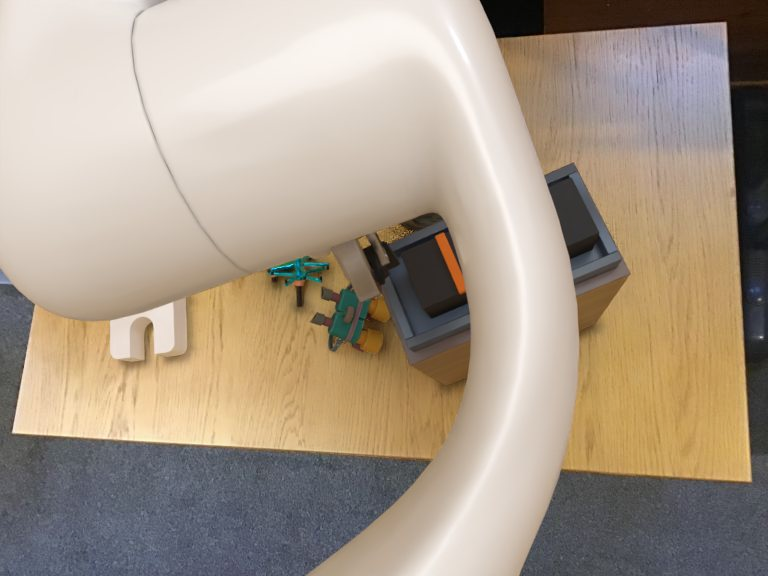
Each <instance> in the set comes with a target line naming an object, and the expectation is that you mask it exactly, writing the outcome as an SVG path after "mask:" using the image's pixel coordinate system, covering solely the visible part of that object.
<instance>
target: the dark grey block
mask: <svg viewBox="0 0 768 576" xmlns="http://www.w3.org/2000/svg"><path fill="white" fill-rule="evenodd" d="M548 189H549V192H550V195H551V197H552V200H553V203H554V206H555V209H556V212H557V215H558V218H559V222H560V226H561V230H562V233H563V237H564V240H565V244H566V247H567V251H568V254H569V258H570V259H572V258H574V257H577V256H579V255H581V254H584V253H586V252H588V251H591V250H593V248H594V245H595V243H596V240H597V238H598V235H599V230H598V228H597V226H596V224H595V222H594V220H593V218H592V216H591V214H590V212H589V210H588V208H587V206H586V205H585V203H584V201H583V199H582V197H581V195H580V193H579V191H578V189H577V187H576V185H575V183H574V181H573V179H572V178H569V179H566V180H564V181H562V182H560V183H557V184H555V185H553V186H550V187H548Z"/></svg>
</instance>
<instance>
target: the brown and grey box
mask: <svg viewBox="0 0 768 576" xmlns="http://www.w3.org/2000/svg"><path fill="white" fill-rule="evenodd" d="M544 177H545V180H546V183H547V186H548V187H550V186H553V185H555V184H557V183H560V182H562V181H564V180H566V179H569V178H572V179H573V181H574V183H575V185H576V187H577V189H578V191H579V193H580V195H581V197H582V199H583V201H584V203H585V205H586V206H587V208H588V210H589V212H590V214H591V216H592V218H593V220H594V222H595V224H596V226H597V228H598V230H599V235H598V238H597V240H596V243H595V245H594V248H593V250H591V251H588V252H586V253H584V254H581V255H579V256H577V257H574V258H572V259H570V264H571V270H572V276H573V282H574V288H575V294H576V300H577V309H578V329H579V332H581V331H583V330H586V329H588V328H591V327H594V326H596V324H597V322H598V321H599V319H601V317H602V316H603V314H604V313H605V311H606V310H607V308H608V307H609V305H610V304H611V302H612V301H613V300H614V298H616V296H617V294H618V293H619V291H620V290H621V288H622V287H623V286H624V284H625V283H626V281H627V280H628V279H629V277H630V276H631V271H630V269H629V267H628V265H627V263H626V260H625V259H624V258H623V255H622V253H621V252H620V249H619V248H618V245H617V244H616V242H615V240H614V238H613V236H612V234H611V232H610V230H609V228H608V226H607V225H606V222H605V220H604V218H603V217H602V214H601V212H600V211H599V209H598V206H597V204H596V203H595V201H594V198H593V197H592V195H591V193H590V191H589V189H588V186H587V185H586V183H585V181H584V180H583V177H582V175H581V174H580V172H579V170H578V167H577V165H576V163H575V162H571V163H568V164H566V165H563V166H561V167H559V168H557V169H555V170H553V171H550V172H548V173H545V174H544ZM448 232H449V230H448V227H447V224H446V223H445V221H444V219H443V220H441V221H438V222H436V223H434V224H432V225H429V226H427V227H425V228H423V229H420V230H418V231H412V232H411V233H409V234H407V235H404V236H402V237H400V238H398V239H395V240H393V241H391V242H389V243H388V242H387V243H388V245H389V246H390V247H391V249H392V250H393V252H394V253H395V254H396V256H397V258H398V260H399V262H400V264H399V265H398V266H397V267H394V268H392V269H390V270H388V271H389V274H390V275H389V276H388V277H387V278H386V279H385V283H386V284H384V285H381V287H382V293H381V296H382V298H384V301H385V303H386V306H387V308H388V311H389V313H390V318H391V320H392V324H393V327H394V328H395V331H396V333H397V336H398V339H399V341H400V343H401V346H402V348H403V351H404V354H405V357H406V359H407V361H408V364H409V367H412V368H414V369H416V370H417V371H420V372H421V373H423V374H424V375H427V377H430V378H432V379H433V380H435V381H437V382H438V383H440V384H442V385H443V386H445V387H447V386H450V385H452V384H454V383H456V382H459V381H462V380H463V379H467V376H468V369H469V362H470V348H471V326H470V311H469V305H468V304H466V305H463V306H461V307H459V308H456V309H454V310H451V311H449V312H447V313H444V314H442V315H440V316H437V317H435V318H433V319H431V318H430V317H429V315H428V314H427V313H426V312H425V311H424V309H423V308H422V305H421V303H420V301H419V298H418V296H417V293H416V291H415V288H414V286H413V283H412V281H411V279H410V276H409V274H408V271H407V269H406V266H405V264H404V262H403V259H402V257H401V254H400V253H402V252H404V251H407V250H409V249H411V248H413V247H416V246H418V245H420V244H423V243H425V242H427V241H429V240H432V239H434V238H435V236H437V235H439V234H441V233H444V234H445V233H448Z"/></svg>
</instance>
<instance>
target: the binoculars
mask: <svg viewBox="0 0 768 576" xmlns="http://www.w3.org/2000/svg"><path fill="white" fill-rule="evenodd" d="M320 299H321V300H324V301H326V302H333V303H335V305H334V310H335V311H334V312H333V313H332V315H331V317H329V316H326V314H324V313H322V312H318V311H316V312H315V313H314V314H313V316H312V318H311V320H310V321H309V323H311V324H314V325H317V326H320V327H321V326H323V327H327V334H328V338H327V339H328V340H327V346H328V347H327V348H328V351H330V352H333V353H336V352H337V351H338V350H339V348H341V346H342V345H343V344H344V345H346V344H348V343H349V344H350V347H351V348H353V350H356V351H358V352H360V353H364V352H367V353H369V354H371V355H376V354H377V353H379V351H380V349H381V348H382V345H383V341H384V335H383V333H382V332H381V331H379V330H375V329H372V328H369V327H367V328H363V327H364V324H365V320H367V321H369V322H370V323H374V321H375V320H377V321H379V322H382V323H385V322H387V321H388V320H389V318H391V316H390V313H389V311H388V308H387V306H386V303H385V301H384V298H383V297H381V296H376V297H374V298H372V299H369V300H367V301H365V302H362V303H361V302H360V301H359V299H358V297H357V295H356V293H355V291H354V290H353V287H351V284H350V283H349V284H348V285H347V286H346V288H344V287H343V288H342V289H340V291H339V293H338V292H335V291H334V290H333V289H330V288H328V287H325V286H322V285H321V286H320ZM334 338H336V339H335V343H334Z"/></svg>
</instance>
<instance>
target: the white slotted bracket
mask: <svg viewBox="0 0 768 576" xmlns="http://www.w3.org/2000/svg"><path fill="white" fill-rule="evenodd" d="M151 323H152V324H153V350H154V351H153V353H154V354H153V355H156V356H162V357H167V358H169V357H176V356H177V357H178V356H182V355H184V354H185V353H186V352H187V351H188V321H187V297H186V298H183V299H181V300H178V301H175V302H172V303H169V304H166V305H164V306H161V307H158V308H155V309H152V310H149V311H147V312H144V313H140V314H135V315H131V316H127V317H123V318H119V319H115V320H109V348H110V349H109V355H110V356H111V357H112V359H114V360H120V361H126V362H131V363H134V362H142V361H146V360H145V359H146V355H145V354H146V353H145V352H146V351H145V332H146V329H147V327H148V326H149V325H150V324H151Z"/></svg>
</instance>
